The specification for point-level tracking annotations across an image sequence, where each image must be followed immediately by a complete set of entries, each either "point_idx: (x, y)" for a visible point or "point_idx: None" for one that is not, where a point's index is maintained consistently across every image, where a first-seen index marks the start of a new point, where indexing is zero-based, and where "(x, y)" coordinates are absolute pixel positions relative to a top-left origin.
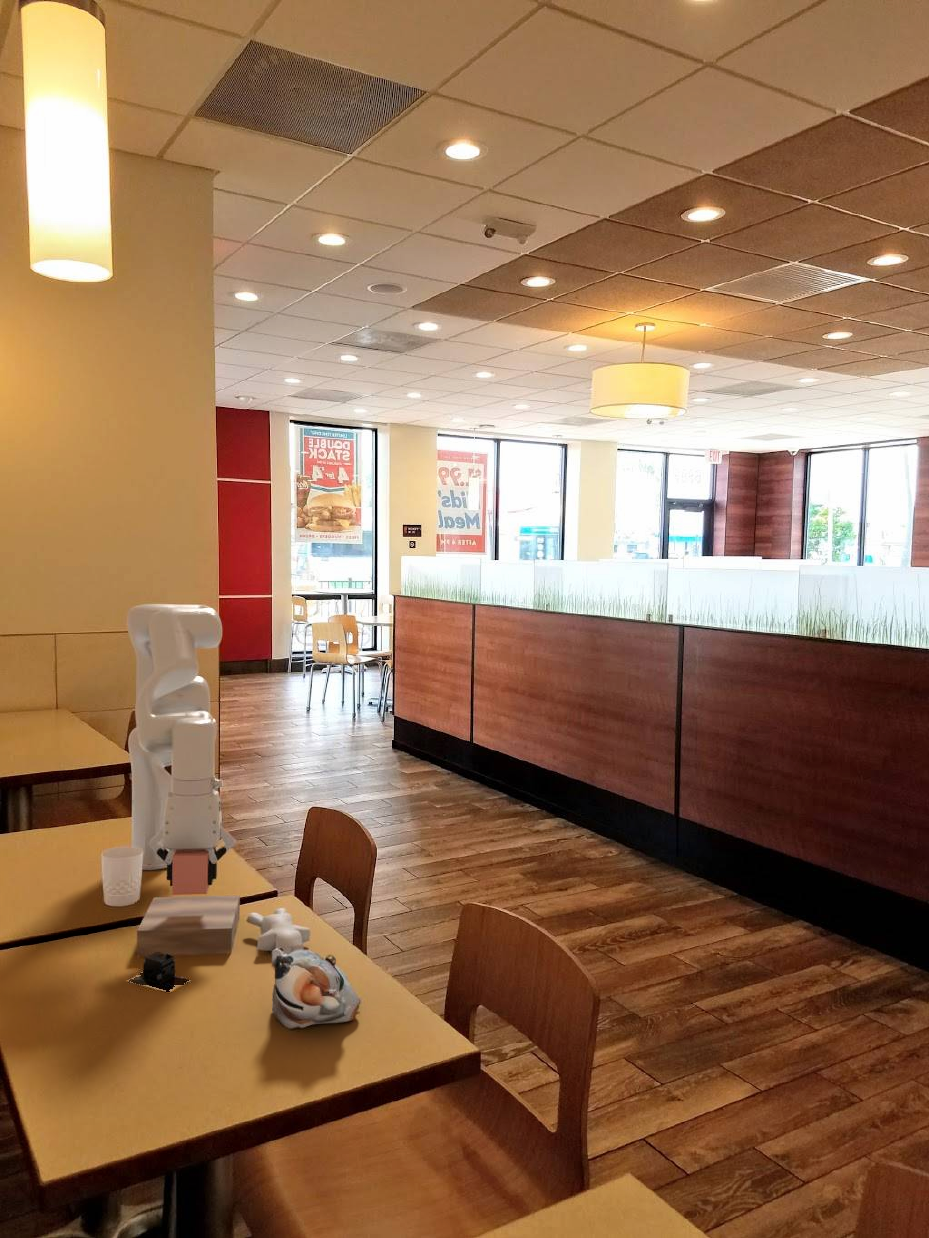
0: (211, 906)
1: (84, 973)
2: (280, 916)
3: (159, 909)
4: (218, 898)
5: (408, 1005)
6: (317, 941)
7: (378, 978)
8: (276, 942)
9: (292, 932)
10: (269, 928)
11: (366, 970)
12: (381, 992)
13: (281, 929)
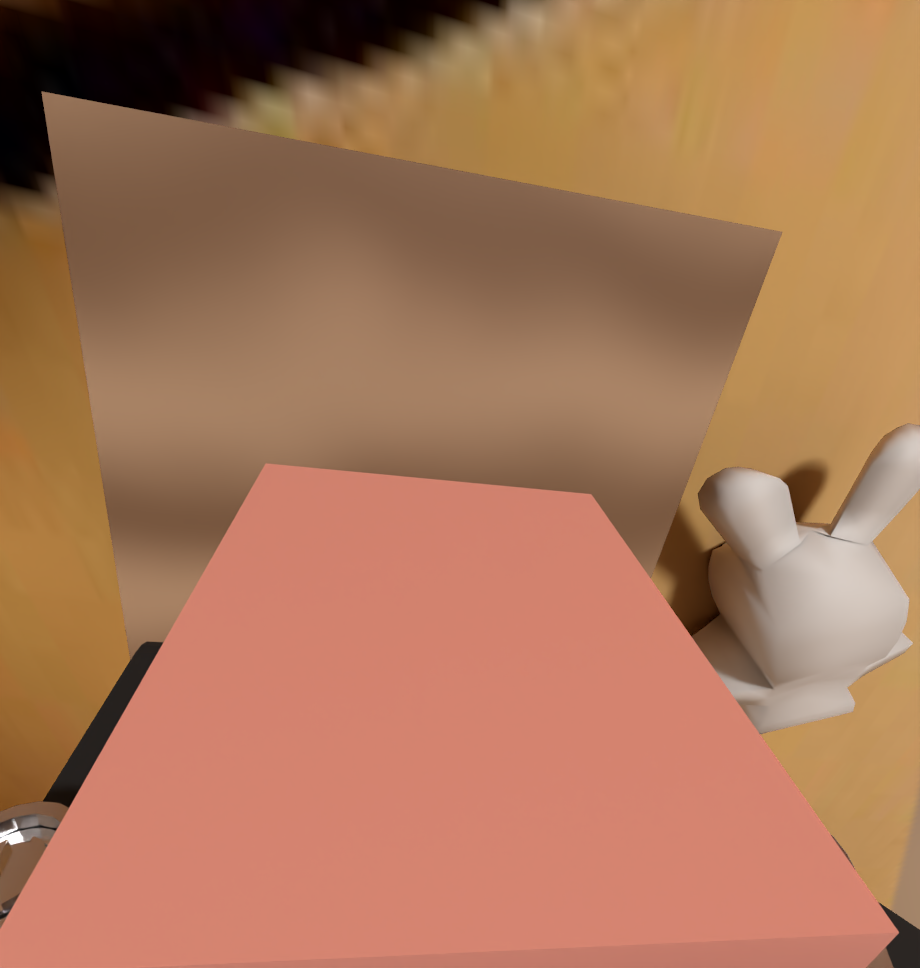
0: (544, 422)
1: (17, 703)
2: (854, 634)
3: (182, 416)
4: (615, 267)
5: (886, 878)
6: (899, 570)
7: (908, 791)
8: (742, 705)
9: (827, 711)
10: (760, 663)
11: (909, 756)
12: (871, 839)
13: (800, 688)
